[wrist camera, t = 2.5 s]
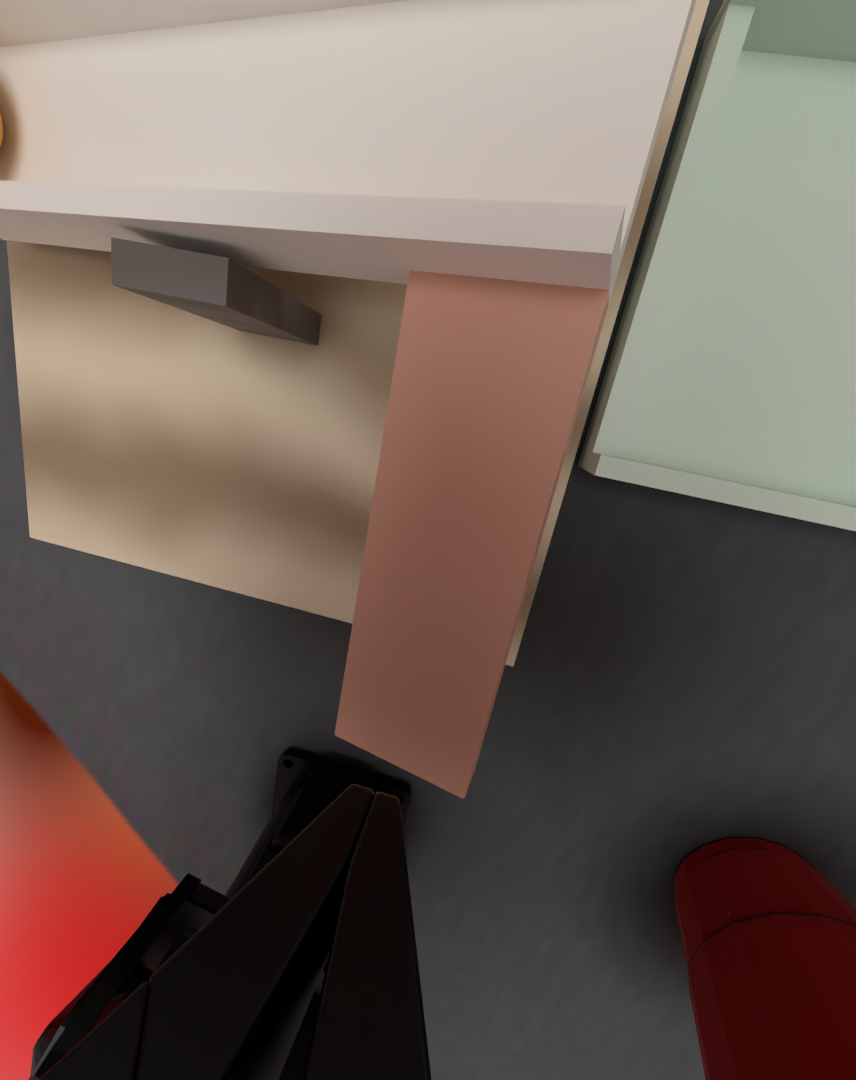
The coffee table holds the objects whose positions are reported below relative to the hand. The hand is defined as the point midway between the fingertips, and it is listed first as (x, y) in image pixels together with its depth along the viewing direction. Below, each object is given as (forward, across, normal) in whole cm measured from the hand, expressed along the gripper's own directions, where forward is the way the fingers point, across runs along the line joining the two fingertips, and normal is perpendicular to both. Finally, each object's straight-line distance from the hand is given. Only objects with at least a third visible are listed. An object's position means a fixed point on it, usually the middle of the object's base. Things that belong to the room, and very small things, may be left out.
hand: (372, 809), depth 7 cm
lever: (+7, +8, -6) cm, 12 cm away
